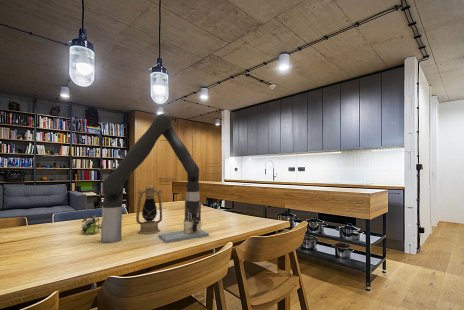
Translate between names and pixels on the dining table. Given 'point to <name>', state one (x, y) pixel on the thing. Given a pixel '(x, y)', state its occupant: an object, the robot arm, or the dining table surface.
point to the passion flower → (86, 225)
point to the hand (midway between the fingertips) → (192, 230)
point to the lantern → (149, 211)
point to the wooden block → (197, 211)
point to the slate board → (180, 236)
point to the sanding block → (191, 227)
